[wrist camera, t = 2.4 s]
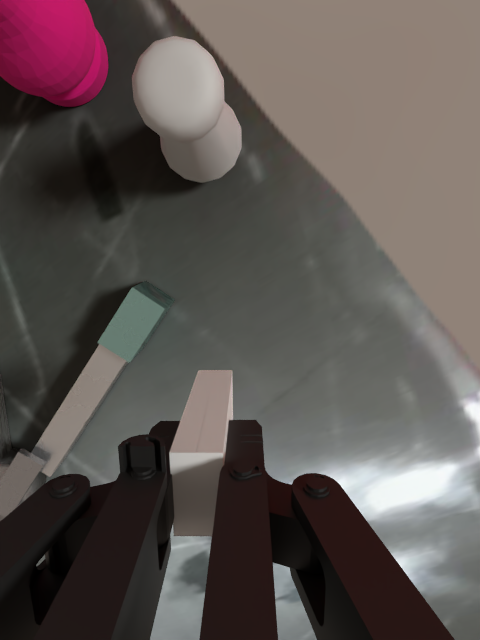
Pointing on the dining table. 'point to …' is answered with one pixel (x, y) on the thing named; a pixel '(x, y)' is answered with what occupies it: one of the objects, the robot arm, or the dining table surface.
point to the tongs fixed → (12, 450)
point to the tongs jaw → (87, 390)
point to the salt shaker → (187, 108)
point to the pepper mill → (52, 50)
